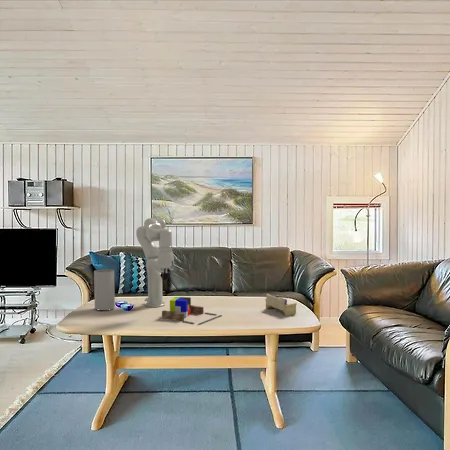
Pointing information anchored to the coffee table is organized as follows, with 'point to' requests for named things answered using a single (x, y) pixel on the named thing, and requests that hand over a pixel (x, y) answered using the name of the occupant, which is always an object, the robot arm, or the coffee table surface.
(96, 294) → the grey rounded tower
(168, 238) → the robot arm
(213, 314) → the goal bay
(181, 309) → the puzzle toy
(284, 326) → the coffee table surface
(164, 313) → the chute
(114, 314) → the coffee table surface
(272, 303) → the toy sofa
